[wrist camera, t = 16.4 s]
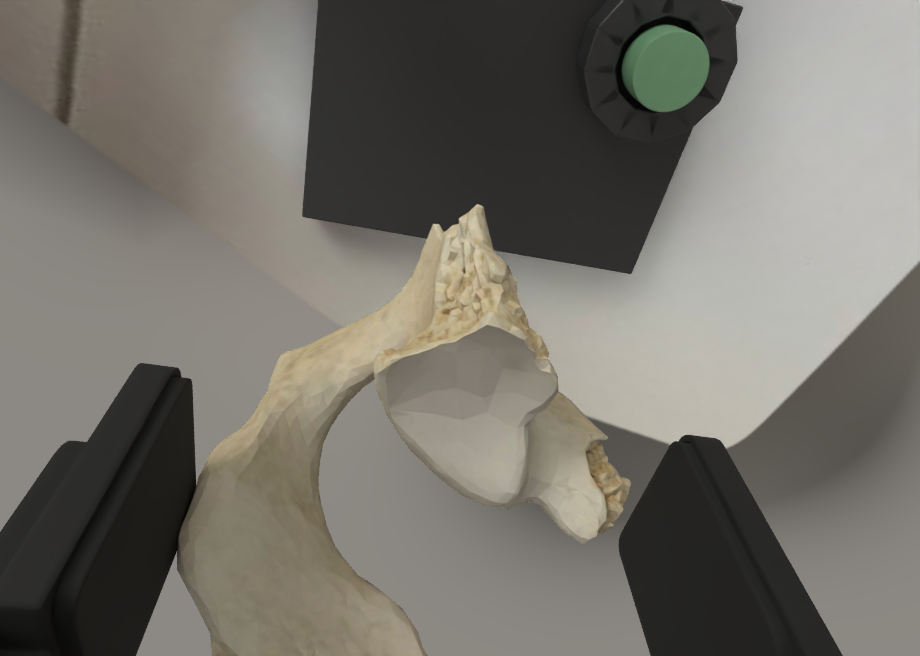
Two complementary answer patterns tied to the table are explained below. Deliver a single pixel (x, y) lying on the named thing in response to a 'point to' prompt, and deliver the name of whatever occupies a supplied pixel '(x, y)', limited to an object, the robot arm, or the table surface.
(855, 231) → the table surface
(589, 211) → the scale
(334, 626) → the bone
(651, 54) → the button
